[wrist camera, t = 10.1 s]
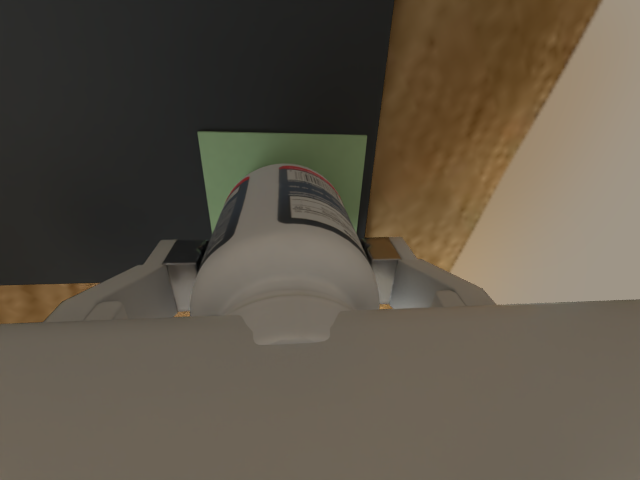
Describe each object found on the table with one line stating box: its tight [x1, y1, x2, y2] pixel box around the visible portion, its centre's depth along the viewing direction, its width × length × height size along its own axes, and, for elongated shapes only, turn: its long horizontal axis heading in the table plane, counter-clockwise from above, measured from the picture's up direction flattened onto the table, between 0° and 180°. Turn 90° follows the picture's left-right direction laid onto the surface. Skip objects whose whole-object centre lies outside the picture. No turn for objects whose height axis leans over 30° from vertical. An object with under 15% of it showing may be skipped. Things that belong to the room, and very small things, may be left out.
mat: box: [0, 0, 394, 285], centre depth 11 cm, size 20×20×1 cm
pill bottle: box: [190, 164, 380, 345], centre depth 10 cm, size 5×5×9 cm
